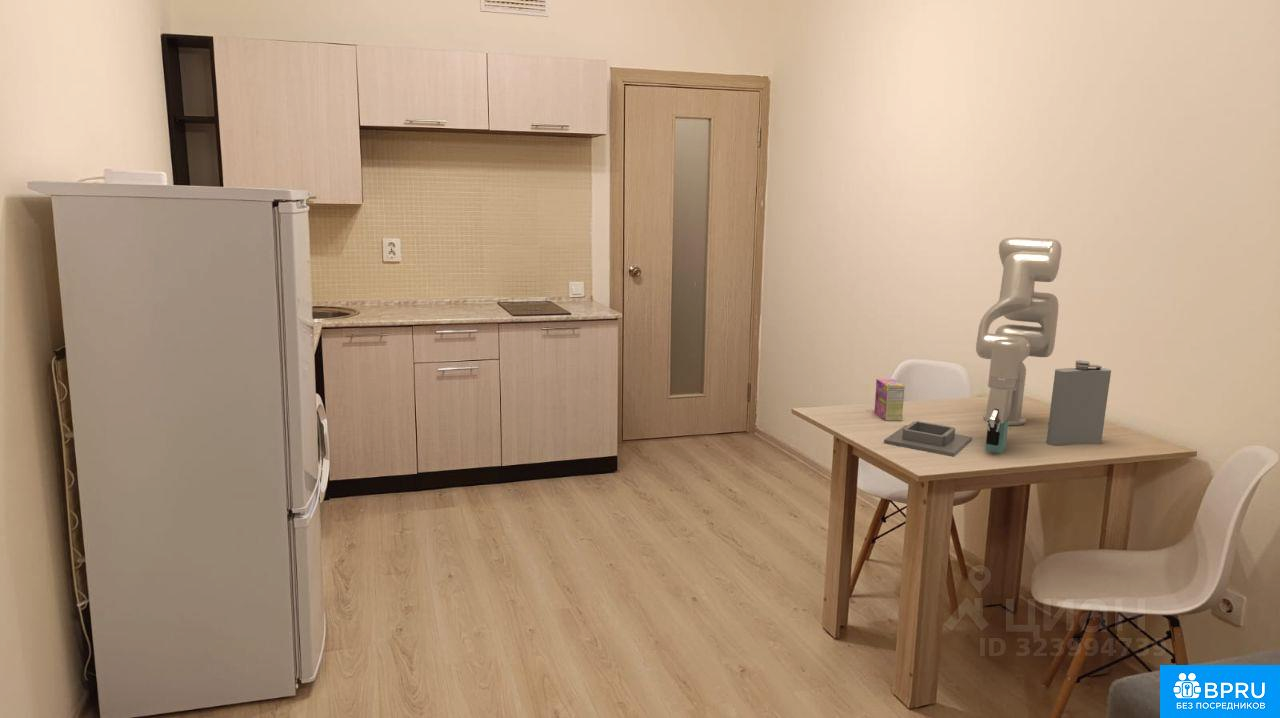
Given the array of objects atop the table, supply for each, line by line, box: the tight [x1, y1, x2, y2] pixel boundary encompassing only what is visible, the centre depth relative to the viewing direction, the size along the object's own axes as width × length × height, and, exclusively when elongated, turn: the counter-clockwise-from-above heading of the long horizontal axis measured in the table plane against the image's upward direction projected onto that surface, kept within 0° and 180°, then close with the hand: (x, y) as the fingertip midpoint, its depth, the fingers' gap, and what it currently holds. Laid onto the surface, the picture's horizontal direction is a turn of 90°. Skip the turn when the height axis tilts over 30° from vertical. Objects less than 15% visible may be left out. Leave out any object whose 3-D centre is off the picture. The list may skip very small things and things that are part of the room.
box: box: [874, 378, 905, 422], centre depth 275 cm, size 10×6×12 cm, turn 5°
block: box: [984, 420, 1009, 454], centre depth 242 cm, size 4×4×9 cm
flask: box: [1045, 359, 1112, 447], centre depth 249 cm, size 17×5×25 cm, turn 101°
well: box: [883, 420, 973, 457], centre depth 249 cm, size 20×20×4 cm
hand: (996, 440), depth 242 cm, fingers open, 9 cm apart
